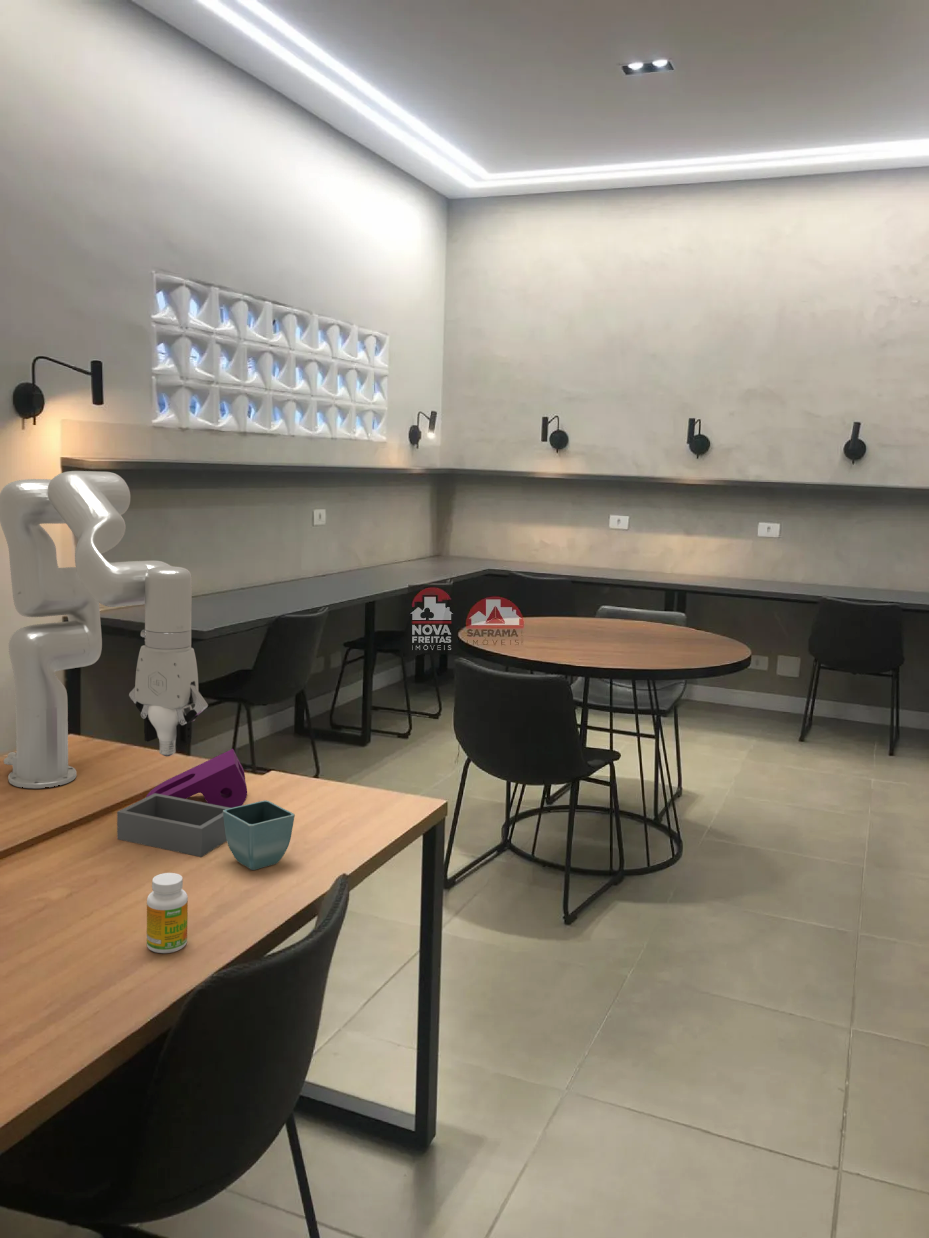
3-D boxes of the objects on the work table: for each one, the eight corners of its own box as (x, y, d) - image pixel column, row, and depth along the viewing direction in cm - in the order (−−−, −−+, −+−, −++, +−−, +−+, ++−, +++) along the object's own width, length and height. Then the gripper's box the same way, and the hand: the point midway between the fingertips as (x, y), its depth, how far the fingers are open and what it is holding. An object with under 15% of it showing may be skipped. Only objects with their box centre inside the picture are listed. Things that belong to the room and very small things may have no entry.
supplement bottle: (165, 958, 131) (165, 890, 130) (138, 946, 134) (138, 879, 132) (195, 942, 136) (196, 877, 134) (168, 931, 138) (169, 866, 137)
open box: (117, 839, 169) (117, 811, 168) (154, 819, 179) (155, 793, 178) (201, 857, 164) (201, 828, 163) (235, 835, 174) (235, 808, 173)
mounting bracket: (165, 844, 183) (254, 801, 186) (144, 806, 180) (235, 763, 183) (166, 825, 192) (251, 784, 195) (146, 789, 189) (233, 748, 192)
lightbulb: (193, 756, 168) (193, 694, 166) (159, 763, 164) (159, 700, 162) (174, 748, 172) (174, 687, 171) (141, 754, 168) (140, 692, 166)
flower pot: (265, 848, 169) (266, 798, 167) (294, 864, 163) (296, 813, 161) (220, 860, 163) (221, 809, 161) (249, 878, 157) (250, 825, 155)
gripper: (111, 637, 164) (112, 740, 167) (197, 649, 158) (196, 755, 161) (140, 630, 171) (140, 729, 174) (224, 642, 165) (222, 744, 168)
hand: (167, 741), depth 168 cm, fingers closed on lightbulb, 5 cm apart
